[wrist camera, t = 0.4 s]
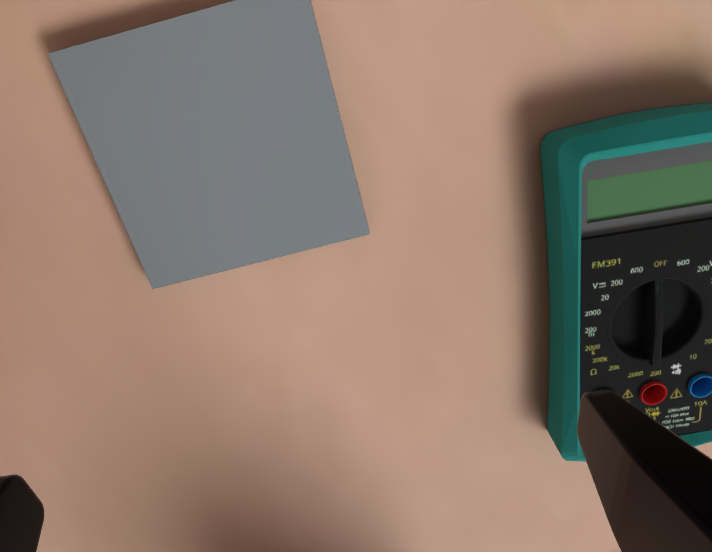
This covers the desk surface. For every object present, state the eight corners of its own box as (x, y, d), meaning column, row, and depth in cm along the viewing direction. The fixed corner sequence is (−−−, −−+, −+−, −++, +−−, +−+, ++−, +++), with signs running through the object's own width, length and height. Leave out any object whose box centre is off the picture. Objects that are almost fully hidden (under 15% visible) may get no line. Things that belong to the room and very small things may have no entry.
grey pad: (368, 227, 21) (369, 234, 21) (158, 281, 22) (152, 288, 21) (306, -17, 18) (305, -20, 17) (58, 53, 19) (47, 53, 18)
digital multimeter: (542, 438, 27) (567, 483, 24) (533, 126, 21) (565, 137, 18) (694, 414, 26) (737, 457, 24) (730, 92, 20) (794, 98, 18)
